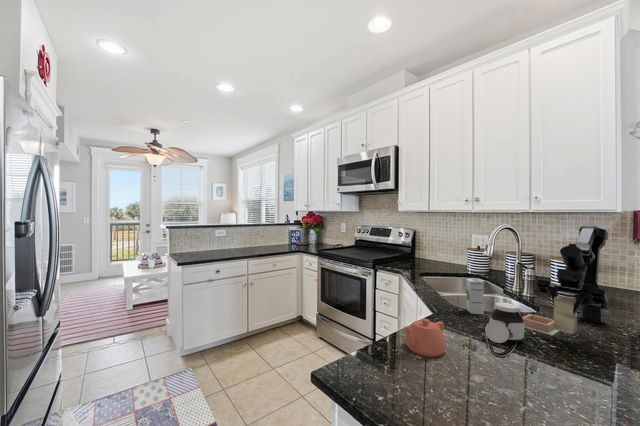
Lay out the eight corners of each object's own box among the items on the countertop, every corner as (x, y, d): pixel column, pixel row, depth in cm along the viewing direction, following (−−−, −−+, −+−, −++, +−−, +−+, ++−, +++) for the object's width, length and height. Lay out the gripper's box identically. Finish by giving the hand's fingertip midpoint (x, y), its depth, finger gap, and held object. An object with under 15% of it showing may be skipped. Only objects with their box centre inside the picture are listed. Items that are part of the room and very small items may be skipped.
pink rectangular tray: (527, 319, 118) (527, 312, 118) (563, 328, 108) (563, 321, 108) (514, 324, 111) (514, 317, 111) (552, 335, 101) (552, 327, 101)
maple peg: (558, 326, 101) (558, 295, 101) (577, 331, 97) (577, 299, 97) (553, 329, 98) (553, 297, 98) (572, 334, 94) (572, 301, 94)
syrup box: (484, 314, 122) (484, 281, 123) (469, 313, 124) (469, 280, 124) (479, 310, 128) (479, 278, 128) (465, 309, 129) (465, 278, 129)
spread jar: (521, 336, 100) (521, 304, 100) (529, 350, 90) (529, 314, 90) (482, 330, 105) (482, 299, 105) (486, 342, 95) (486, 308, 95)
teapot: (458, 351, 88) (459, 321, 88) (418, 365, 79) (418, 332, 80) (427, 337, 99) (427, 310, 99) (388, 347, 90) (389, 318, 90)
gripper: (537, 257, 108) (525, 290, 101) (605, 264, 92) (596, 303, 86) (545, 275, 112) (534, 308, 106) (611, 285, 96) (603, 324, 90)
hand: (563, 310), depth 97 cm, fingers closed on maple peg, 5 cm apart
